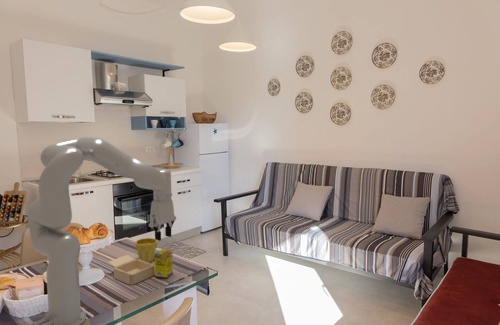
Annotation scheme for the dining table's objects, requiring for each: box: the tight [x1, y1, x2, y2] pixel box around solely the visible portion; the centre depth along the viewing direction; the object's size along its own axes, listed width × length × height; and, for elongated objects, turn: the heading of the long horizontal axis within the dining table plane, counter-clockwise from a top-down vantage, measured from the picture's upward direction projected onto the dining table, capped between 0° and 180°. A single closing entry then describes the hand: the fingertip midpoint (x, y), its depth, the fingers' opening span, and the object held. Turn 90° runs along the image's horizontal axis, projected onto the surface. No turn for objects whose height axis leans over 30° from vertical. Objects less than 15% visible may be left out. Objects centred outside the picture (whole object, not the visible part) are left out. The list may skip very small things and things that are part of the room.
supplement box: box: [154, 249, 174, 280], centre depth 154 cm, size 6×6×11 cm
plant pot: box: [134, 237, 158, 263], centre depth 171 cm, size 10×10×10 cm
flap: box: [107, 254, 136, 268], centre depth 158 cm, size 11×6×1 cm, turn 146°
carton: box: [113, 258, 155, 286], centre depth 153 cm, size 13×13×5 cm
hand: (163, 237), depth 153 cm, fingers open, 5 cm apart
